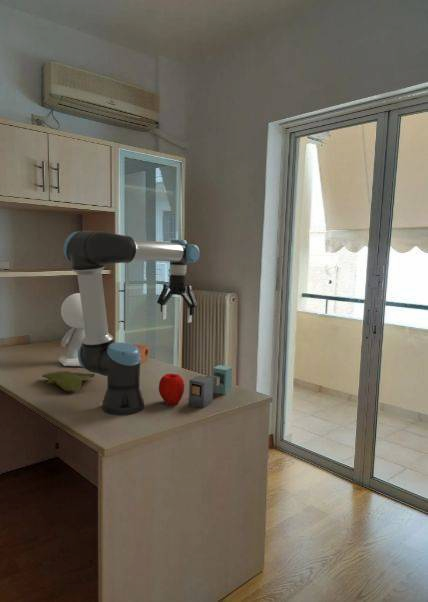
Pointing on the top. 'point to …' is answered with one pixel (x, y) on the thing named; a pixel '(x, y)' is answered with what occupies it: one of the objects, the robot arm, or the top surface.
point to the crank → (143, 352)
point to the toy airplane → (67, 379)
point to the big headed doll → (74, 319)
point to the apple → (171, 388)
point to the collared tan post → (198, 388)
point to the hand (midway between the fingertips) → (176, 320)
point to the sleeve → (206, 394)
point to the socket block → (223, 379)
